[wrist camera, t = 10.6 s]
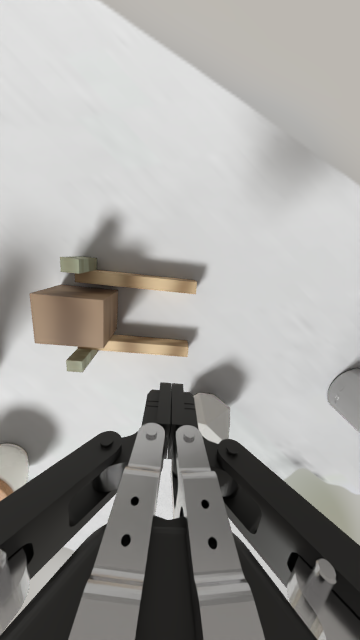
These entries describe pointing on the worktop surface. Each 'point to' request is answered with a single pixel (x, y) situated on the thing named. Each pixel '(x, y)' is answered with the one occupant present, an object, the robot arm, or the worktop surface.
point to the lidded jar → (12, 468)
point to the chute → (89, 274)
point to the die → (212, 417)
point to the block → (74, 315)
